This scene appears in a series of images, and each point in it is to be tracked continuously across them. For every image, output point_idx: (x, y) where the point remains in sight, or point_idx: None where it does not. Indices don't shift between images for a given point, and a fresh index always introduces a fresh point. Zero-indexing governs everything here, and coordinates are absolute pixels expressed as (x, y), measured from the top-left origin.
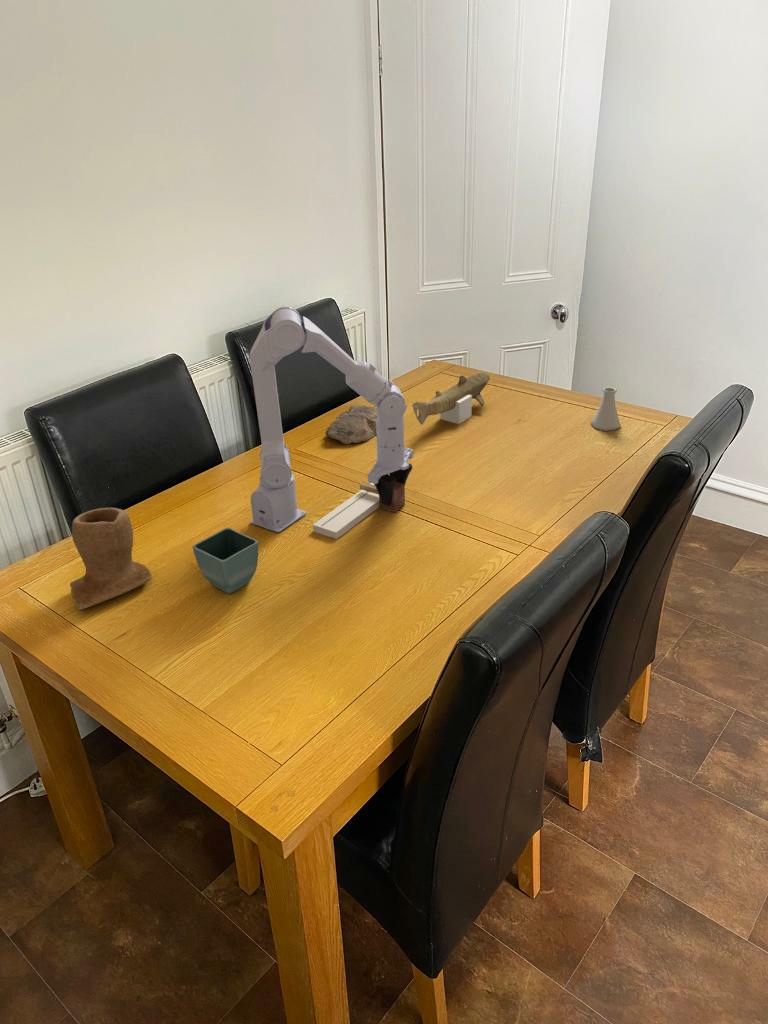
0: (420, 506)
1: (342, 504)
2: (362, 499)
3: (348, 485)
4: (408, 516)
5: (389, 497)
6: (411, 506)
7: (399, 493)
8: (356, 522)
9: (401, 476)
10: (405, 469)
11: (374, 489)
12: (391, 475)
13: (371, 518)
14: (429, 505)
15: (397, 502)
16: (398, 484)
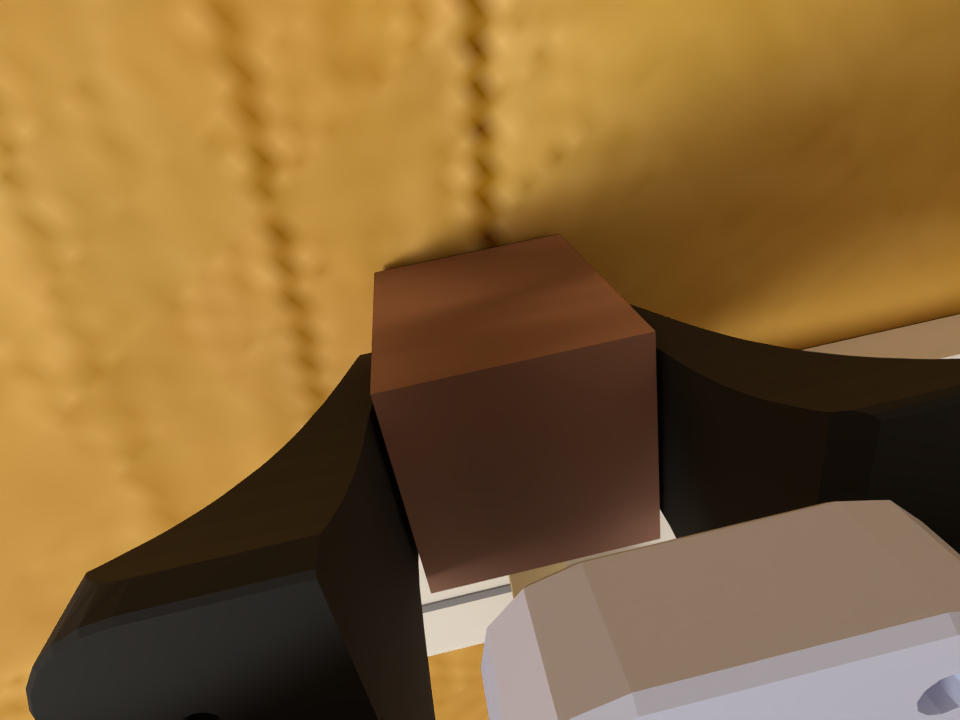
0: (262, 125)
1: None
2: None
3: (458, 714)
4: (522, 70)
5: (683, 328)
6: (340, 203)
7: (502, 324)
8: (885, 339)
9: (377, 525)
10: (344, 603)
11: (566, 564)
12: (420, 633)
13: (744, 315)
14: (153, 52)
15: (529, 275)
16: (441, 445)
